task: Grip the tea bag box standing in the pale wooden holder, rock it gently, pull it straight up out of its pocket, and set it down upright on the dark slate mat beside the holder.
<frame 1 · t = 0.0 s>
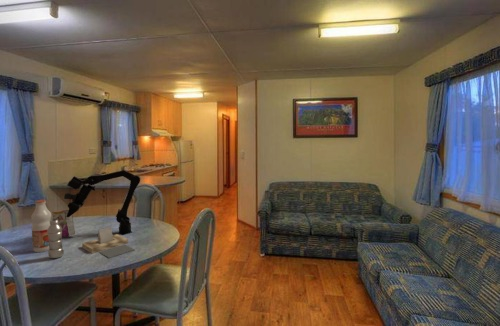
hand: (69, 215, 173), 15 cm above the table, tool tilted 35°, fingers open, 8 cm apart
candy bar box: (65, 236, 178), point 1 cm above the table, touching gripper
fruit juice: (43, 249, 158), on the table
mat: (117, 251, 153), on the table
plastic bottle: (56, 257, 146), on the table
holder: (105, 245, 163), on the table
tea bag: (105, 245, 163), resting in holder
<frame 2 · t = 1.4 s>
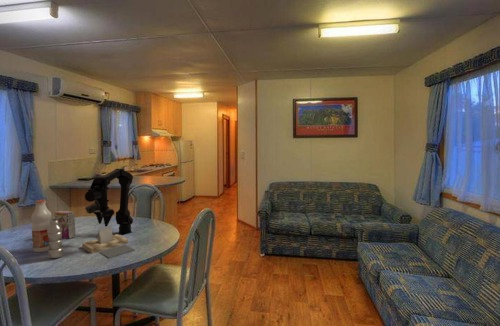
hand: (103, 224, 162), 12 cm above the table, tool pointing down, fingers open, 9 cm apart
candy bar box: (65, 237, 178), on the table
everything else where it was.
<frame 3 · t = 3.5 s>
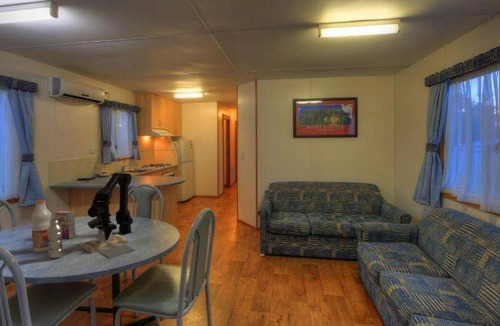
hand: (105, 239, 163), 4 cm above the table, tool pointing down, fingers closed on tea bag, 4 cm apart
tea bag: (105, 245, 163), resting in holder, touching gripper
everything else where it was.
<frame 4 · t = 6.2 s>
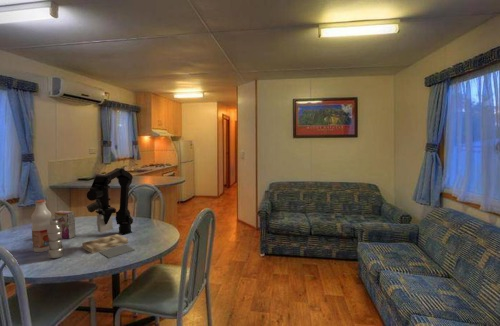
hand: (104, 223, 162), 13 cm above the table, tool pointing down, fingers closed on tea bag, 4 cm apart
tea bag: (105, 230, 163), point 9 cm above the table, touching gripper
everything else where it was.
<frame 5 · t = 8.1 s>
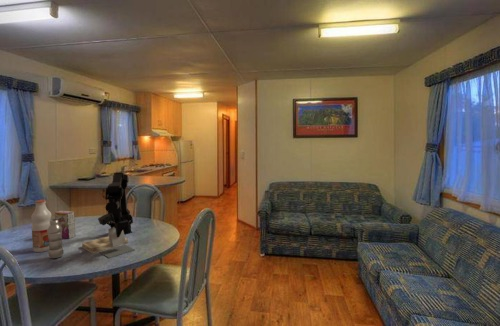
hand: (116, 236, 153), 8 cm above the table, tool pointing down, fingers closed on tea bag, 4 cm apart
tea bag: (118, 244, 154), point 4 cm above the table, touching gripper
everything else where it was.
when the fingers open (5 cm above the table, at t = 9.4 s): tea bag stays where it is, resting on mat.
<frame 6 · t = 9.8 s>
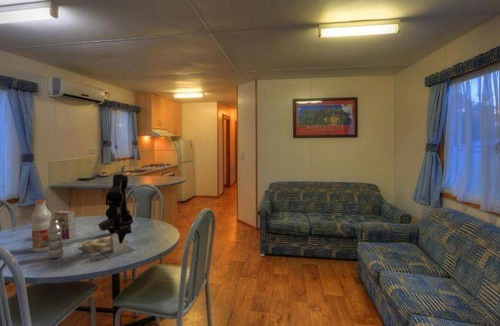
hand: (116, 241, 153), 5 cm above the table, tool pointing down, fingers open, 9 cm apart
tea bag: (118, 250, 154), resting on mat
everything else where it was.
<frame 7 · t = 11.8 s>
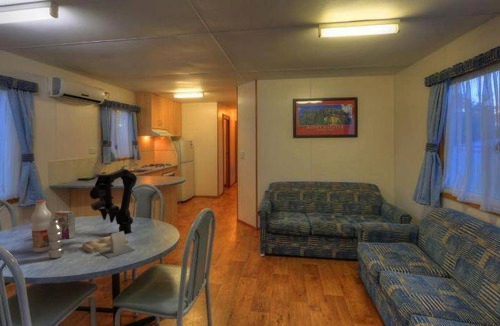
hand: (108, 221, 168), 13 cm above the table, tool pointing down, fingers open, 9 cm apart
nothing on the table moved.
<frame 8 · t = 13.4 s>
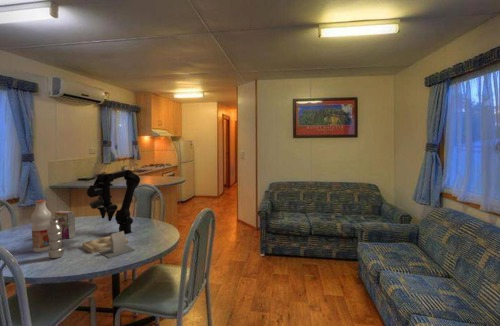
hand: (106, 219, 170), 13 cm above the table, tool pointing down, fingers open, 9 cm apart
nothing on the table moved.
at the end: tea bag inside the target area on the mat (0.7 cm from its centre), point 0.2 cm above the mat's base; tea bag tilted 0°; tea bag touching mat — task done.
